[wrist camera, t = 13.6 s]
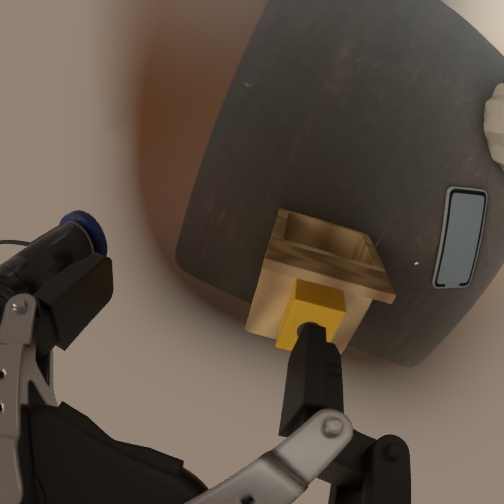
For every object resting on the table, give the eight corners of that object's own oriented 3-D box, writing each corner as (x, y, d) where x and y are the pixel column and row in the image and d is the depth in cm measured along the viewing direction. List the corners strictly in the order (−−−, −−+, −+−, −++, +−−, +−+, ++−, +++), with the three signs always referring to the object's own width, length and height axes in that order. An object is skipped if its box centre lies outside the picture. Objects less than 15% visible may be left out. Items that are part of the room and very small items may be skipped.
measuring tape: (277, 327, 31) (273, 350, 27) (296, 277, 27) (294, 299, 24) (320, 338, 30) (320, 362, 27) (343, 290, 27) (347, 313, 24)
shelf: (258, 285, 40) (236, 355, 28) (279, 207, 35) (264, 258, 23) (336, 306, 40) (342, 380, 27) (368, 234, 34) (396, 295, 22)
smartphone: (488, 190, 27) (469, 286, 33) (485, 189, 28) (467, 284, 34) (448, 186, 28) (431, 288, 34) (445, 185, 29) (430, 285, 35)
